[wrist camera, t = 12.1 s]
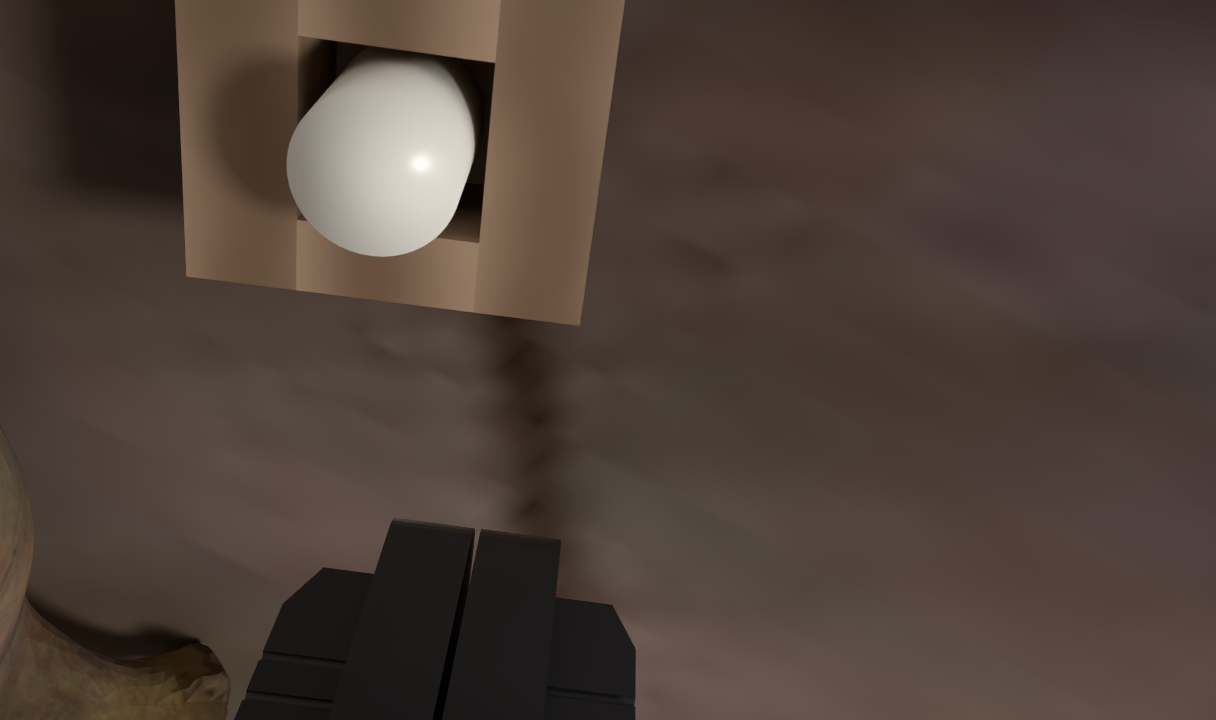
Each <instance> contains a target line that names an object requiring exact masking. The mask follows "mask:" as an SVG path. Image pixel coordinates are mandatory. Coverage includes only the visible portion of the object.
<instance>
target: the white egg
mask: <svg viewBox="0 0 1216 720" xmlns="http://www.w3.org/2000/svg"><path fill="white" fill-rule="evenodd" d="M484 124H485V109H484V102H483V98H482V94H481V91H480V89H479V86H478V84H477V82H476V80H475V78H474V76H473V75H472V73H471V72H470V71H469V69H468V68H467V67H466V65H465V64H464V63H463V62H462V61H461V60H460V59H459V58H456V57H449V56H442V55H435V54H427V53H420V52H413V51H406V50H398V49H391V48H384V47H377V46H369V47H367V48H366V49H364V50H363V51H361V52H360V53H359V54H358V55H357V56H356V57H355V58H354V59H353V60H352V61H351V62H350V63H349V65H348V66H347V67H346V68H345V69H344V70H343V72H342V73H341V74H340V75H339V76H338V77H337V79H336V80H335V81H334V82H333V83H332V84H331V86H330V87H329V88H328V89H327V90H326V91H325V93H324V94H323V95H322V96H321V97H320V98H319V100H318V101H317V102H316V103H315V104H314V105H313V107H312V108H311V109H310V110H309V111H308V112H307V114H306V115H305V116H304V117H303V119H302V120H301V121H300V123H299V124H298V126H297V127H296V129H295V131H294V133H293V135H292V138H291V141H290V144H289V148H288V153H287V164H286V165H287V177H288V182H289V187H290V190H291V193H292V195H293V198H294V200H295V202H296V204H297V206H298V208H299V209H300V211H301V213H302V214H303V216H304V217H305V218H306V219H307V221H308V222H309V223H310V224H311V225H312V226H313V227H314V228H315V229H316V230H317V231H318V232H319V233H320V234H321V235H323V236H324V237H325V238H327V239H328V240H330V241H331V242H333V243H335V244H336V245H338V246H340V247H342V248H345V249H347V250H349V251H352V252H356V253H359V254H363V255H369V256H379V257H386V256H396V255H402V254H406V253H409V252H412V251H415V250H417V249H419V248H421V247H423V246H425V245H426V244H428V243H430V242H431V241H432V240H434V239H435V238H436V237H437V236H438V235H439V234H440V233H441V232H442V231H443V230H444V229H445V228H446V227H447V225H448V224H449V222H450V220H451V219H452V217H453V215H454V213H455V211H456V209H457V206H458V203H459V200H460V197H461V195H462V192H463V189H464V186H465V183H466V180H467V178H468V175H469V172H470V169H471V166H472V163H473V161H474V158H475V155H476V152H477V149H478V146H479V144H480V141H481V138H482V134H483V130H484Z"/></svg>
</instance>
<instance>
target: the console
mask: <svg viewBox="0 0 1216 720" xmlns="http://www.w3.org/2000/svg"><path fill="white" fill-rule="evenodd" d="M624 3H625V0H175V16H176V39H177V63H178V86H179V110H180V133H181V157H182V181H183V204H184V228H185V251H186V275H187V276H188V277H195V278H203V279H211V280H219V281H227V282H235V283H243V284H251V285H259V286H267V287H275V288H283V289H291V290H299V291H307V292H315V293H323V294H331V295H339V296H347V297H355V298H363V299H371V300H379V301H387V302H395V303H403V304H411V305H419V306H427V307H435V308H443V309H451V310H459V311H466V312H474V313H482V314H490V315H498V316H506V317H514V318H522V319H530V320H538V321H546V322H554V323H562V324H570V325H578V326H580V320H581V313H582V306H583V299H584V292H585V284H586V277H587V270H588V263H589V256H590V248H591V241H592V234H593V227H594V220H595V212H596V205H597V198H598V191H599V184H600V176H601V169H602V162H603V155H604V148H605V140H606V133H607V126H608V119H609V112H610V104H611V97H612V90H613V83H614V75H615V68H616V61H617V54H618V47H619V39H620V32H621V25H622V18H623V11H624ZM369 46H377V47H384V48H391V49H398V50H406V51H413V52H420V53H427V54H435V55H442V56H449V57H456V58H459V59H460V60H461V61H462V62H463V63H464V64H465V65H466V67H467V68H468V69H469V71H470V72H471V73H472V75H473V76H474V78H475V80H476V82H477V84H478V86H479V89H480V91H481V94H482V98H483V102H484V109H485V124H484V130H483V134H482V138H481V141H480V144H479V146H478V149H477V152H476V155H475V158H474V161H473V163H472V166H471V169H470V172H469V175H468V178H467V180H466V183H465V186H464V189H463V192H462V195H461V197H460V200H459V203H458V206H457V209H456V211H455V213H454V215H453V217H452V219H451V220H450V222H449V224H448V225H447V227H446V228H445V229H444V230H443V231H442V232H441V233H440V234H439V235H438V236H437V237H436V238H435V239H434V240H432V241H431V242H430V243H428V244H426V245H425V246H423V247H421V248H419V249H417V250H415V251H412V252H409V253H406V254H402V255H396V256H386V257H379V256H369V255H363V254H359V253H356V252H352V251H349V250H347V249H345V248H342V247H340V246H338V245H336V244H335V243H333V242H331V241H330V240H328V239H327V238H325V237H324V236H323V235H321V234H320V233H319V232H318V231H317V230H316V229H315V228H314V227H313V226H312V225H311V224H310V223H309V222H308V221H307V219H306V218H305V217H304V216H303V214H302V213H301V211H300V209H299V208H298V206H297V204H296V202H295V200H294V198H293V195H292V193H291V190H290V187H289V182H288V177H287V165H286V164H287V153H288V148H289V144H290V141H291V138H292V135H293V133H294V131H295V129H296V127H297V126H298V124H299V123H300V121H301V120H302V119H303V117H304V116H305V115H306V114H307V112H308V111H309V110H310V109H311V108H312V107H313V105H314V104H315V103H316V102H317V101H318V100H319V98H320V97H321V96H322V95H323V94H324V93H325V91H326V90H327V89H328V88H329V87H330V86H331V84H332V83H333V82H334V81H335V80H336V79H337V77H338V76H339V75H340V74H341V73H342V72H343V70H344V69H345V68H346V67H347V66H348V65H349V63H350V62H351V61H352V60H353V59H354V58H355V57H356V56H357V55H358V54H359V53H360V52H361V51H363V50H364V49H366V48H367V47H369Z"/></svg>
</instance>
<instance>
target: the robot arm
mask: <svg viewBox="0 0 1216 720" xmlns="http://www.w3.org/2000/svg"><path fill="white" fill-rule="evenodd" d="M474 537H475V529H474V528H467V527H459V526H452V525H444V524H437V523H429V522H422V521H414V520H407V519H399V518H394V519H393V520H392V522H391V524H390V527H389V530H388V533H387V536H386V539H385V542H384V546H383V549H382V552H381V555H380V558H379V561H378V564H377V567H376V570H375V573H374V574H370V573H362V572H355V571H347V570H339V569H332V568H322V569H321V570H320V571H319V572H318V573H317V574H316V575H315V576H313V577H312V578H311V579H310V580H309V581H308V582H307V583H306V584H304V585H303V586H302V587H301V588H300V589H299V590H298V591H297V592H296V593H294V594H293V595H292V596H291V597H290V598H289V599H288V600H287V601H285V602H284V603H283V605H282V607H281V609H280V612H279V614H278V617H277V619H276V621H275V624H274V626H273V628H272V631H271V633H270V636H269V638H268V640H267V643H266V645H265V647H264V650H263V656H262V659H261V660H259V662H258V664H257V666H256V669H255V671H254V674H253V676H252V678H251V681H250V683H249V685H248V688H247V693H246V697H245V700H242V702H241V705H240V707H239V709H238V712H237V714H236V716H235V719H234V720H635V707H634V703H635V663H636V649H635V647H634V645H633V643H632V641H631V639H630V638H629V636H628V634H627V632H626V630H625V628H624V626H623V624H622V622H621V621H620V619H619V617H618V615H617V613H616V611H615V609H614V607H613V605H610V604H602V603H594V602H587V601H579V600H571V599H564V598H556V587H557V577H558V567H559V557H560V546H561V540H559V539H552V538H544V537H537V536H529V535H522V534H514V533H507V532H499V531H492V530H484V529H481V532H480V536H479V541H478V546H477V551H476V556H475V561H474V565H473V570H472V575H471V566H472V557H473V548H474ZM470 575H471V580H470ZM469 583H470V585H469Z"/></svg>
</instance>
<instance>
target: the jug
mask: <svg viewBox="0 0 1216 720" xmlns="http://www.w3.org/2000/svg"><path fill="white" fill-rule="evenodd" d="M34 540H35V534H34V526H33V517H32V509H31V503H30V496H29V492H28V489H27V486H26V482H25V479H24V476H23V473H22V470H21V467H20V464H19V462H18V460H17V458H16V456H15V454H14V452H13V450H12V448H11V446H10V443H9V441H8V439H7V437H6V435H5V433H4V432H3V430H2V428H1V426H0V720H226V718H227V712H228V705H229V696H230V689H231V684H230V678H229V676H228V675H227V673H226V672H225V670H224V668H223V665H222V664H221V662H220V661H219V659H218V658H217V656H216V655H215V653H214V652H213V651H212V650H211V649H210V648H209V647H208V646H205V645H203V644H200V643H198V642H194V643H191V644H189V645H187V646H185V647H182V648H180V649H178V650H175V651H171V652H167V653H163V654H159V655H155V656H150V657H145V658H140V659H135V660H127V661H123V660H117V659H114V658H111V657H109V656H106V655H104V654H101V653H99V652H96V651H94V650H92V649H89V648H87V647H85V646H83V645H82V644H80V643H78V642H77V641H75V640H74V639H72V638H71V637H69V636H67V635H66V634H64V633H63V632H61V631H60V630H58V629H57V628H55V627H54V626H53V625H51V624H50V623H49V622H48V621H46V620H45V619H44V618H43V617H42V616H40V615H39V614H38V613H37V611H36V610H35V609H34V608H33V607H32V606H31V605H30V604H29V602H28V600H27V597H26V595H25V593H26V590H27V585H28V581H29V577H30V572H31V568H32V564H33V553H34Z"/></svg>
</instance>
